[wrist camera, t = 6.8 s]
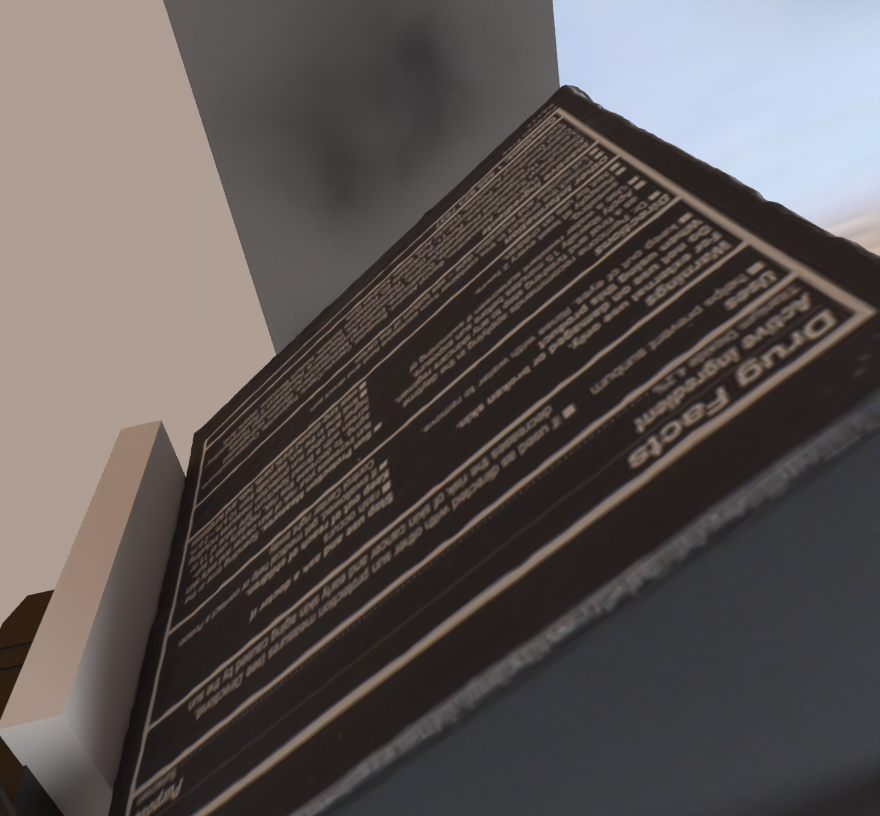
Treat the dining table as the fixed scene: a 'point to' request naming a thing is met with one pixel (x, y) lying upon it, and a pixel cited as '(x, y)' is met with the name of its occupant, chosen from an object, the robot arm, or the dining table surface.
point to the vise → (352, 123)
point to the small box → (541, 517)
